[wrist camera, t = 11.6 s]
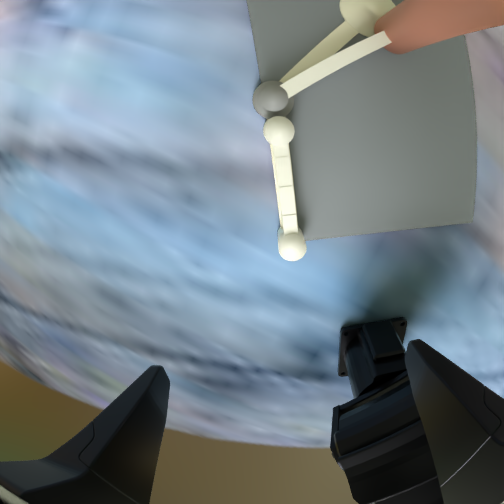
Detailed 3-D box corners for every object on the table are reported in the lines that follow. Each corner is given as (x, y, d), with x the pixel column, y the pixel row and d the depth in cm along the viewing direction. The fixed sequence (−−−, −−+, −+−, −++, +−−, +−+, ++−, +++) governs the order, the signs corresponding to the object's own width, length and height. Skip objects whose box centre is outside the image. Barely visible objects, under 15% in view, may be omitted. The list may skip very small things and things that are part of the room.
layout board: (470, 220, 20) (475, 224, 19) (272, 242, 22) (272, 247, 21) (454, 6, 12) (459, 4, 12) (234, -8, 14) (233, -12, 13)
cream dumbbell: (303, 243, 22) (307, 259, 20) (278, 246, 22) (280, 262, 20) (289, 115, 18) (292, 114, 16) (261, 118, 18) (261, 118, 16)
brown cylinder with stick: (276, 125, 17) (293, 134, 7) (248, 88, 16) (227, 47, 6) (420, 46, 14) (531, 17, 4) (396, 11, 13) (492, -44, 3)
